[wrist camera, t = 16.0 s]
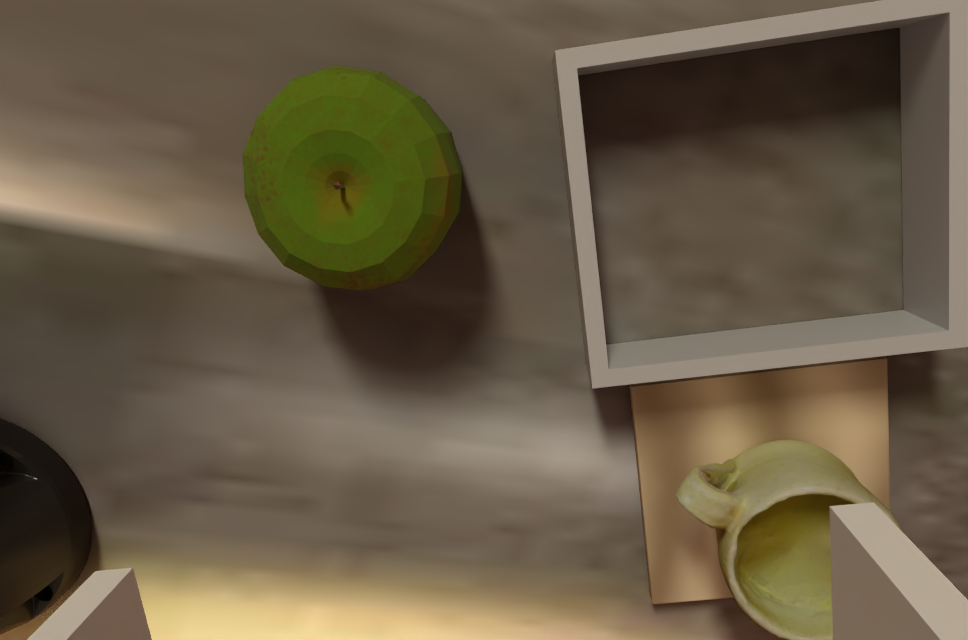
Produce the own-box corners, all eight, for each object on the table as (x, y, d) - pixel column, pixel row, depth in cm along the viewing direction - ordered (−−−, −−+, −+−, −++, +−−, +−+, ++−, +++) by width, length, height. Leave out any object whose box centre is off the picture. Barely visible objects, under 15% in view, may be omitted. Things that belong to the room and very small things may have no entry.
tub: (585, 362, 46) (592, 388, 42) (552, 60, 42) (554, 50, 37) (920, 324, 45) (968, 346, 40) (918, 5, 41) (971, -14, 36)
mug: (936, 494, 44) (961, 607, 35) (802, 579, 49) (796, 695, 40) (775, 353, 45) (762, 430, 36) (661, 451, 50) (626, 538, 41)
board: (649, 593, 50) (652, 604, 49) (628, 380, 46) (631, 387, 45) (882, 573, 48) (891, 583, 47) (878, 352, 45) (887, 358, 44)
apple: (292, 69, 43) (215, 47, 33) (476, 87, 43) (459, 70, 32) (286, 258, 46) (213, 293, 35) (459, 277, 46) (438, 318, 35)
